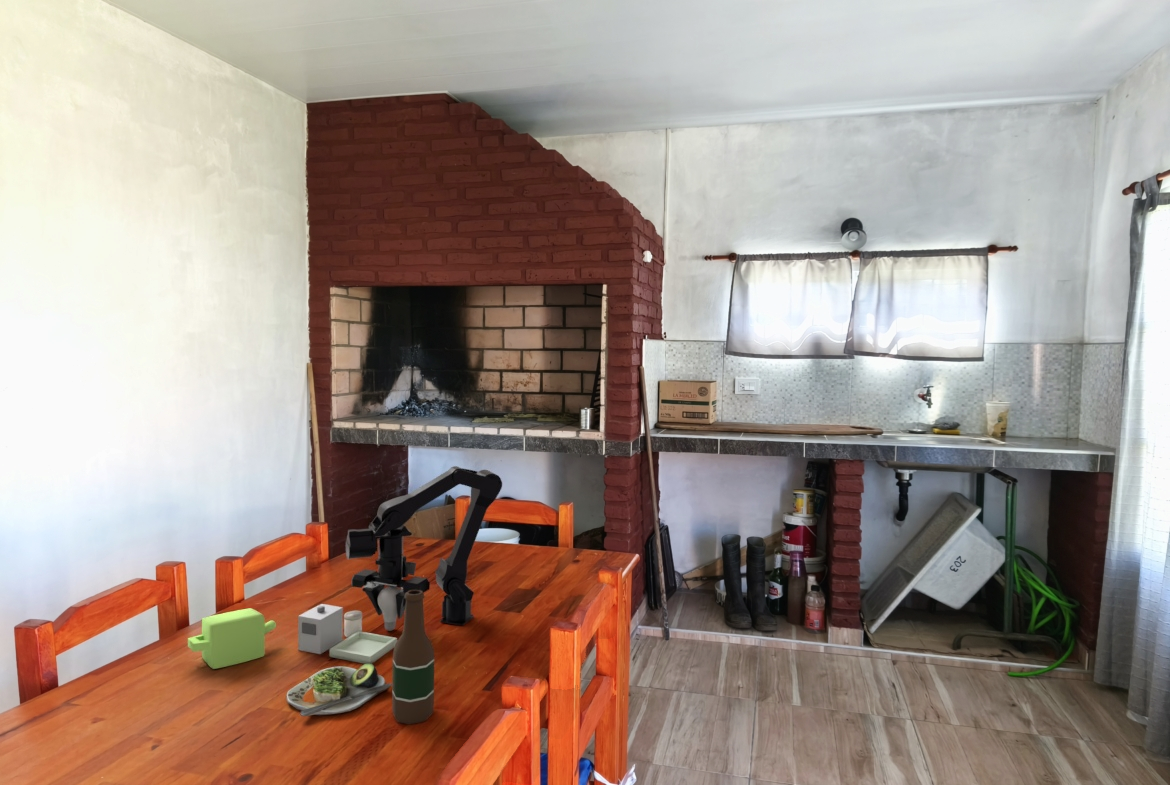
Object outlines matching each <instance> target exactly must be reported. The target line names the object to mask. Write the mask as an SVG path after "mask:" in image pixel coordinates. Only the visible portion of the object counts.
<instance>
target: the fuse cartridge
mask: <svg viewBox="0 0 1170 785" xmlns="http://www.w3.org/2000/svg"><path fill="white" fill-rule="evenodd" d="M358 631H361V632H363V612H362V611H360V610H350V611H347V612H345V613H343V636H344V637H346V638H348V637H350V636H351V635H353V634H355V633H356V632H358Z"/></svg>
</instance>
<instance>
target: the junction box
mask: <svg viewBox="0 0 1170 785" xmlns="http://www.w3.org/2000/svg"><path fill="white" fill-rule="evenodd" d="M297 618H298V621H297V622H298V623H297V624H298V625H297V626H298V630H297V631H298V633H297V635H298V636H297V637H298V638H297V639H298V640H297V641H298V642H297V644H298V651H302V652H306V653H307V652H308V653H313V654H317V655H322V654H323V653H324V652H327V651H329V650H330V648H332V647H334V646H335V645H337V644H338V643H340V642H342V641H343V640H344V638H343V636H344V607H343V606H338V605H337V606H336V605H331V604H323V603H321V604H318V605H317V606H315V607H313V608H311V609H309V610H306V611H305V612H303V613H301V614H300V615H298V616H297Z"/></svg>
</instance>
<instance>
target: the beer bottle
mask: <svg viewBox="0 0 1170 785" xmlns="http://www.w3.org/2000/svg"><path fill="white" fill-rule="evenodd" d="M404 598H405V599H406V605H405V611H404V618H403V620H404V621H403V628H402V633H401V635H400V636H399V638H397V642H396V645H395V647H394V648H393V652H392V686H391V687H392V689H391V690H392V700H391V703H392V715H393V716H394V719H395V720H396V722H397V723H401V724H406V725H410V726H411V725H414V724H420V723H423V722H425V721H426V720H427V719H429V717H431V715H433V714H434V713H433V712H434V704H435V702H434V701H435V700H434V699H435V698H434V697H435V695H434V694H435V651H434V650H435V649H434V646H433V643H432V641H431V639H430V638H429V637H428V635H427V633H426V629H425V628H426V627H425V615H424V613H425V612H424V599H425V598H426V597H425V592H424V593H423V592H422V591H421V590H410V591H408V592H406V593H405V596H404Z"/></svg>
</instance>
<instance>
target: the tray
mask: <svg viewBox="0 0 1170 785" xmlns="http://www.w3.org/2000/svg"><path fill="white" fill-rule="evenodd" d="M397 641H398V637H393V636H388V635H383V634H377V633H372V632H366V631H362V632H361V631H358V632H356V633H355V634H353V635H351V636H350V637H346V638H345V639H343V641H341V642H339V643H338V644H336V645H335V646H333V647H331V648H330V649H329V658H335V659H340V660H343V661H350V662H355V663H361V664H363V665H364V664H372V665H373V663H375V662H376V661H378V660H379V659H380V658H382V657H383V656H385V655H386V654H387V653H389V652H391V651H392V650H394V647H395V645H396V642H397Z"/></svg>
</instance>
